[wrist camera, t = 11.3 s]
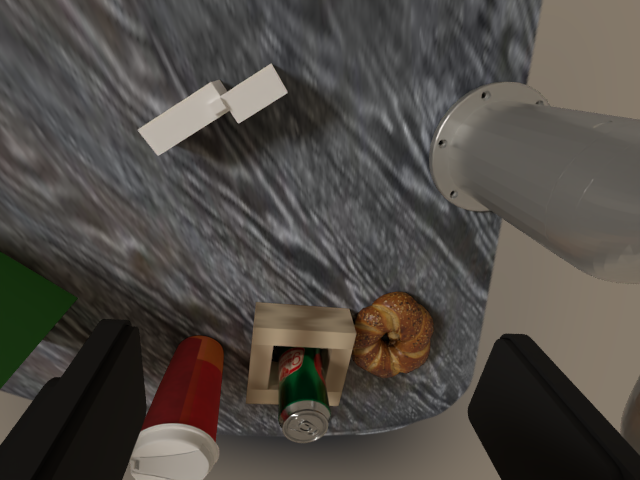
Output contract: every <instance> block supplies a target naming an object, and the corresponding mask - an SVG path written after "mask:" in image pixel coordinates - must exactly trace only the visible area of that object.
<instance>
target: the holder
mask: <svg viewBox="0 0 640 480" xmlns="http://www.w3.org/2000/svg"><path fill="white" fill-rule="evenodd" d="M356 334H357V333H356V330H355V327H354V323H353V320H352V317H351V313H350V310H349V309H346V308H331V307H317V306H303V305H289V304H275V303H260V302H256V308H255V317H254V327H253V337H252V346H251V356H250V365H249V375H248V386H247V397H246V404H278V362H271V359H272V352H273V346H292V347H311V348H322V352H321V354H322V360H323V367H324V373H325V380H326V386H327V393H328V400H329V406H338V405H339V401H340V397H341V393H342V389H343V385H344V381H345V378H346V374H347V370H348V366H349V362H350V358H351V354H352V350H353V346H354V342H355V338H356Z"/></svg>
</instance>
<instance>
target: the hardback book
mask: <svg viewBox="0 0 640 480" xmlns="http://www.w3.org/2000/svg"><path fill="white" fill-rule="evenodd" d="M77 299H78V298H77V297H75V296H74V295H72V294H70V293H69V292H67V291H65V290H64V289H62V288H60V287H59V286H57V285H55V284H54V283H52V282H50V281H49V280H47V279H45V278H44V277H42V276H40V275H39V274H37V273H35V272H34V271H32V270H30V269H29V268H27V267H25V266H24V265H22V264H20V263H18V262H17V261H15V260H13V259H12V258H10V257H8V256H7V255H5V254H3V253H2V252H0V389H1V387H2V386H3V385H4V384H5V383H6V382H7V380H8V379H9V378H10V377H11V376H12V375H13V373H14V372H15V371H16V370H17V369H18V368H19V366H20V365H21V364H22V363H23V362H24V361H25V359H26V358H27V357H28V356H29V355H30V354H31V352H32V351H33V350H34V349H35V348H36V346H37V345H38V344H39V343H40V342H41V341H42V339H43V338H44V337H45V336H46V335H47V334H48V332H49V331H50V330H51V329H52V328H53V327H54V325H55V324H56V323H57V322H58V321H59V320H60V318H61V317H62V316H63V315H64V314H65V313H66V311H67V310H68V309H69V308H70V307H71V306H72V304H73V303H74V302H75V301H76V300H77Z"/></svg>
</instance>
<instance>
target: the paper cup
mask: <svg viewBox="0 0 640 480" xmlns="http://www.w3.org/2000/svg"><path fill="white" fill-rule="evenodd" d="M223 361H224V352H223V348H222V346H221V345H220V344H219V343H218V342H217V341H216V340H214V339H213V338H210V337H207V336H202V335H197V336H191V337H188V338H186V339H184V340H183V341H182V342H181V343H180V344H179V346H178V347H177V349H176V351H175V353H174V355H173V357H172V359H171V362H170V364H169V366H168V368H167V370H166V373H165V375H164V377H163V379H162V381H161V383H160V385H159V387H158V390H157V392H156V394H155V397H154V399H153V401H152V404H151V406H150V408H149V411H148V413H147V415H146V417H145V420H144V423H143V426H142V428H141V431H140V434H139V436H138V439H137V442H136V444H135V447H134V450H133V452H132V455H131V458H130V465H131V466H130V468H131V470H130V472H131V474H132V476H133V477H134V478H135V479H136V480H203V479H204V478H205V477H206V475H207V474H208V473H209V472H210V471H211V470H212V468H213V466H214V464H215V463H216V462H217V461H218V458H219V447H218V445H217V444H216V433H217V423H218V413H219V404H220V394H221V383H222V373H223Z"/></svg>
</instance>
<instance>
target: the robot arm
mask: <svg viewBox="0 0 640 480" xmlns="http://www.w3.org/2000/svg"><path fill="white" fill-rule="evenodd" d="M482 94H483V97H482ZM481 97H482V98H481ZM440 140H441V144H439V142H440ZM429 168H430V172H431V176H432V180H433V182H434V184H435V186H436V188H437V189H438V190H439V192H440V193H441V194H442V195H443V196H444V197H445V198H446V199H447V200H448V201H450V202H451V203H453V204H454V205H456V206H458V207H460V208H463V209H466V210H470V211H478V212H479V211H490V210H491V211H492V212H494V213H495V214H497V215H498V216H500V217H501V218H503V219H504V220H505V221H507V222H508V223H510V224H511V225H513V226H514V227H516V228H517V229H519V230H520V231H522V232H523V233H525V234H526V235H528V236H529V237H531V238H532V239H533V240H535V241H537V242H538V243H539V244H541V245H542V246H544V247H546V248H547V249H548V250H550V251H551V252H553V253H554V254H556V255H557V256H559V257H560V258H562V259H564V260H565V261H567V262H568V263H570V264H571V265H573V266H574V267H576V268H577V269H579V270H581V271H583V272H584V273H586V274H588V275H591V276H593V277H595V278H598V279H602V280H605V281H610V282H615V283H625V284H640V120H638V119H632V118H624V117H618V116H612V115H605V114H598V113H591V112H585V111H578V110H571V109H565V108H557V107H551V106H550V105H549V103H548V101H547V100H546V99H545V98H544V97H543V96H542V95H541V94H540V93H539V92H538V91H536V90H535V89H533V88H532V87H530V86H527V85H524V84H521V83H516V82H494V83H490V84H486V85H483V86H480V87H478V88H476V89H474V90H472V91H470V92H468V93H467V94H466V95H464V96H463V97H461V98H460V99H459V100H458V101H457V102H456V103H455V104H454V105H452V106H451V107H450V108H449V110H448V111H447V112H446V114H445V115H444V116H443V118H442V119H441V121H440V123H439V125H438V127H437V128H436V130H435V133H434V136H433V139H432V142H431V146H430V153H429ZM451 192H452V193H451ZM450 193H451V194H450ZM145 416H146V396H145V386H144V376H143V366H142V356H141V345H140V335H139V329H138V327H132V326H131V322H130V321H129V320H111V319H103V320H101V321H100V322H99V323H98V325H97V326H96V328H95V329H94V331H93V332H92V334H91V335H90V336H89V338H88V339H87V341H86V342H85V344H84V345H83V346H82V348H81V349H80V351H79V352H78V354H77V355H76V357H75V358H74V359H73V361H72V362H71V364H70V365H69V367H68V368H67V369H66V371H65V372H64V374H63V375H62V377H54V378H52V379H51V380H49V381H48V382H47V383H46V384H45V385H44V386H43V388H42V389H41V390H40V392H39V393H38V395H37V396H36V397H35V399H34V400H33V401H32V403H31V404H30V406H29V407H28V408H27V410H26V411H25V412H24V414H23V415H22V416H21V418H20V419H19V421H18V422H17V423H16V425H15V426H14V427H13V429H12V430H11V431H10V433H9V434H8V436H7V437H6V439H5V440H4V441H3V442H2V444H1V445H0V480H122V479H123V476H124V473H125V471H126V468H127V466H128V463H129V460H130V458H131V455H132V452H133V450H134V447H135V444H136V442H137V439H138V436H139V434H140V431H141V428H142V426H143V423H144V420H145ZM468 417H469V420H470V422H471V424H472V426H473V428H474V430H475V432H476V434H477V435H478V437H479V439H480V441H481V442H482V445H483V446H484V448H485V450H486V452H487V454H488V456H489V457H490V459H491V461H492V463H493V465H494V467H495V469H496V471H497V472H498V474H499V476H500V478H501V480H640V376H639V378H638V380H637V382H636V384H635V386H634V388H633V390H632V392H631V394H630V396H629V398H628V401H627V403H626V406H625V408H624V411H623V415H622V420H621V429H620V430H621V431H620V432H621V435H620V433H619V432H618V431H617V430H616V429H615V428H614V427H613V426H612V425H611V424H610V423H609V422H608V421H607V420H606V418H605V417H604V416H603V415H602V414H601V413H600V412H599V411H598V410H597V409H596V408H595V407H594V406H593V404H592V403H591V402H590V401H589V400H588V399H587V398H586V397H585V396H584V395H583V394H582V393H581V391H579V389H578V388H577V387H576V386H575V385H574V384H573V383H572V382H571V381H570V380H569V379H568V378H567V376H566V375H565V374H564V373H563V372H562V371H561V370H560V369H559V368H558V367H557V366H556V365H555V364H554V362H553V361H552V360H550V358H549V357H548V356H547V355H546V354H545V353H544V352H543V351H542V349H540V347H539V346H538V345H537V344H536V343H535V342H534V341H533V340H532V339H531V338H530V337H529V336H527V335H525V334H503V335H502V336H501V337H500V339H498V340H496V342H495V343H494V346H493V348H492V351H491V353H490V355H489V358H488V360H487V363H486V365H485V368H484V370H483V372H482V375H481V377H480V380H479V382H478V385H477V387H476V390H475V392H474V394H473V397H472V399H471V402H470V404H469V406H468Z"/></svg>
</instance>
